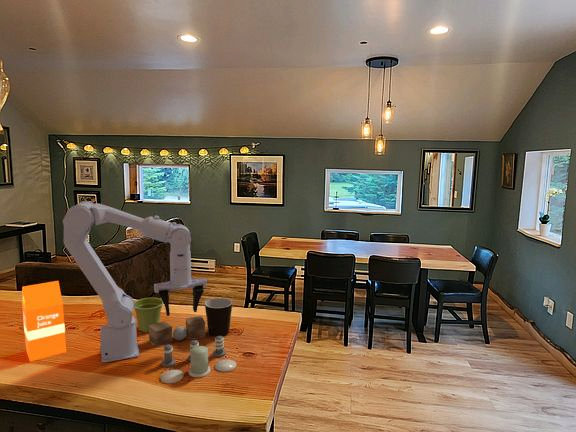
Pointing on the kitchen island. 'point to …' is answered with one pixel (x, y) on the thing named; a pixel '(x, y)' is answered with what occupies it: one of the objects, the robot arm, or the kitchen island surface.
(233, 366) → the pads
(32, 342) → the orange juice
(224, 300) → the coffee mug
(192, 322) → the walnut block
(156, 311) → the plant pot
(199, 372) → the pale green rounded cylinder
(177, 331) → the grey ball
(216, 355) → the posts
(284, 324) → the kitchen island surface
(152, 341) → the walnut block
